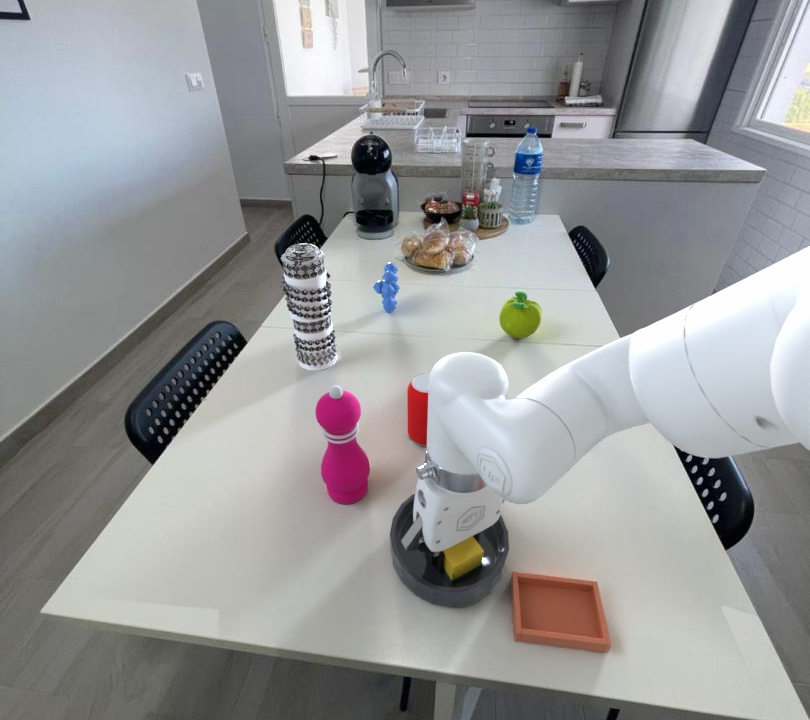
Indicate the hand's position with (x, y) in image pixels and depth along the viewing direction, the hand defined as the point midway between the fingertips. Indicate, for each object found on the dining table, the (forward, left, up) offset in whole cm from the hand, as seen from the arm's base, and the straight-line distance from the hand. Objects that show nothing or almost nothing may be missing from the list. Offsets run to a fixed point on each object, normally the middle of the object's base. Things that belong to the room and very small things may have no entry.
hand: (451, 552), depth 59 cm
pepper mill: (+17, +8, -1) cm, 19 cm away
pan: (+1, 0, -1) cm, 1 cm away
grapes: (+65, -22, -1) cm, 69 cm away
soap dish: (-12, -7, -1) cm, 14 cm away
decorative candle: (+52, +1, -1) cm, 52 cm away
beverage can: (+21, -8, -1) cm, 23 cm away
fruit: (+39, -43, -1) cm, 58 cm away
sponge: (0, 0, 0) cm, 0 cm away
